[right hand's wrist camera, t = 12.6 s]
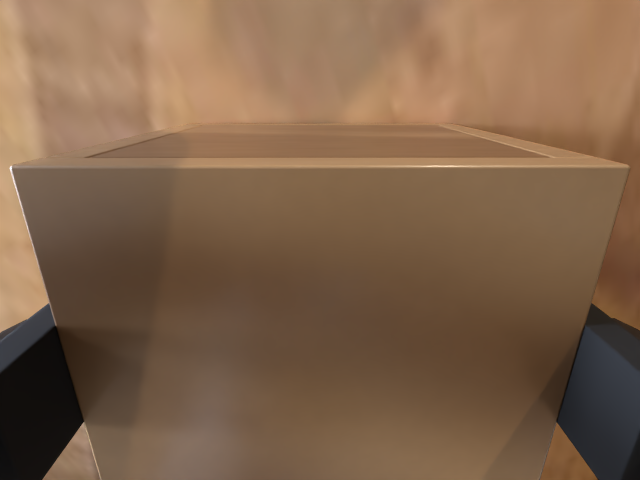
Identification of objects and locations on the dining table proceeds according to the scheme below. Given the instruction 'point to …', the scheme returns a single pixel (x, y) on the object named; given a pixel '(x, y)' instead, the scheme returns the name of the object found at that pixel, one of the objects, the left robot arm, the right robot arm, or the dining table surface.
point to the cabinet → (320, 297)
